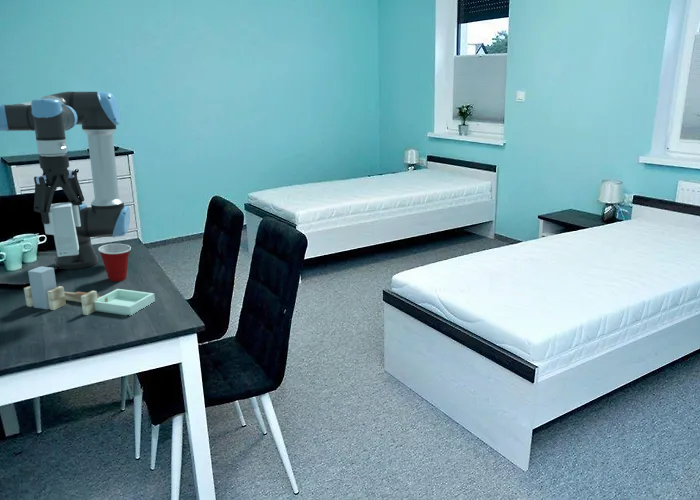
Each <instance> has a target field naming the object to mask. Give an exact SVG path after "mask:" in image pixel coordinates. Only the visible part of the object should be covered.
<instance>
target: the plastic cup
mask: <svg viewBox="0 0 700 500" xmlns="http://www.w3.org/2000/svg"><path fill="white" fill-rule="evenodd" d="M131 248H132V246H130V245H129V244H124V243H107V244H103V245H101V246H98V249H97V250H98V252H99V254H100V256H101V259H102V262H103V266H104V269H105V272H106V274H107V275H106V276H107V278H108V279H109V280H108V281H110V282H122V281H124V280H126V279H127V277H128V276H127V274H128V265H129V255H130V252H131V250H132V249H131Z"/></svg>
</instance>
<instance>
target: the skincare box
mask: <svg viewBox="0 0 700 500" xmlns="http://www.w3.org/2000/svg"><path fill="white" fill-rule="evenodd" d="M49 212H52V216H53V223H54V230H55V234H54V235H53V239H54V245H55V249H56V253H57V256H58V257H61V256H72V255H78V254H79V253H78V250H79V244H78V238H77V233H76V227H75V221H74V216H73V210H72V203H71V202H70V201H67V202H58V203H51V207H50V211H49Z"/></svg>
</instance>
